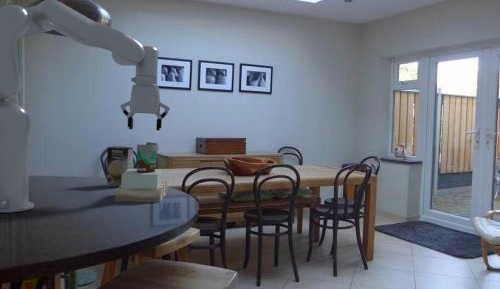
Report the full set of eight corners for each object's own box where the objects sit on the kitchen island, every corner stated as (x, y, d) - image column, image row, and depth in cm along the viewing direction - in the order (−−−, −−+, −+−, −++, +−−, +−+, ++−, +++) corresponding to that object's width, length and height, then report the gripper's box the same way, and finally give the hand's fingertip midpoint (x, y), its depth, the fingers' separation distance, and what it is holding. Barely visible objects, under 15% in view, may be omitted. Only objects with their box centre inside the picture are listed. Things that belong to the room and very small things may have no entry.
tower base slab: (159, 204, 151) (159, 189, 150) (115, 203, 150) (115, 188, 150) (166, 195, 168) (166, 182, 167) (126, 194, 167) (127, 181, 167)
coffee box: (105, 186, 180) (106, 147, 180) (112, 184, 187) (112, 146, 186) (127, 187, 180) (128, 148, 179) (133, 185, 186) (133, 147, 185)
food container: (153, 174, 152) (154, 145, 151) (135, 173, 152) (136, 144, 152) (161, 169, 164) (163, 143, 164) (145, 168, 165) (146, 142, 164)
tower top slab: (157, 189, 151) (157, 174, 151) (121, 188, 150) (121, 174, 150) (161, 182, 167) (161, 169, 167) (128, 181, 166) (129, 168, 165)
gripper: (119, 79, 152) (117, 128, 153) (169, 82, 153) (167, 131, 154) (124, 81, 160) (122, 128, 161) (172, 84, 161) (170, 130, 161)
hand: (144, 129), depth 157 cm, fingers open, 9 cm apart
